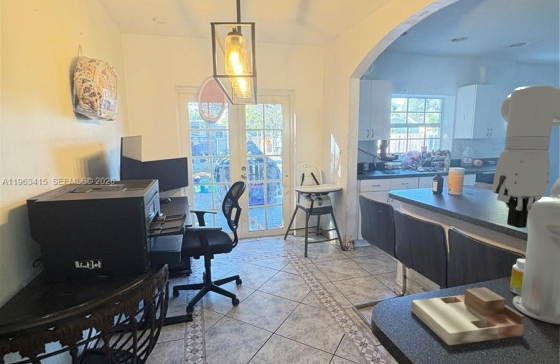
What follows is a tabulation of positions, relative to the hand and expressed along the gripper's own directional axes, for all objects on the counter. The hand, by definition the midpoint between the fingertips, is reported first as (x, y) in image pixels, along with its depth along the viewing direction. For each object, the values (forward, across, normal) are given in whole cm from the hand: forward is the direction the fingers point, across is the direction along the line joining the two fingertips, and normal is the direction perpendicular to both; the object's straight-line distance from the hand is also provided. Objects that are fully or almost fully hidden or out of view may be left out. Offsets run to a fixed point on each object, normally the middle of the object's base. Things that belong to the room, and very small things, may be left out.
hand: (516, 226), depth 67 cm
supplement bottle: (+27, -23, -16) cm, 39 cm away
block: (+24, 0, -6) cm, 25 cm away
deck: (+27, +6, -6) cm, 28 cm away
